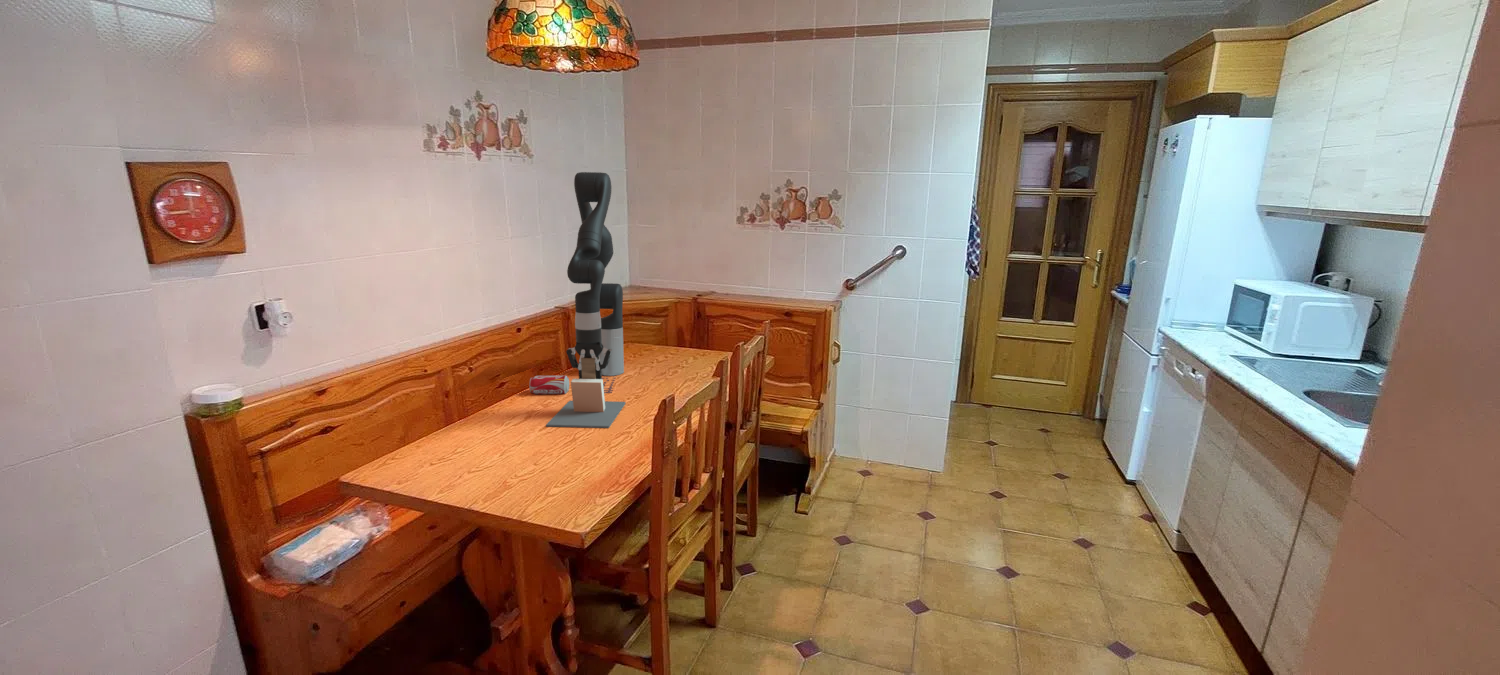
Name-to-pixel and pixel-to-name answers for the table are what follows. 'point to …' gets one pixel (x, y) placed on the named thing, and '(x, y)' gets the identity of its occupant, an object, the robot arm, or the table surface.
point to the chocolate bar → (608, 388)
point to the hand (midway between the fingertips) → (590, 381)
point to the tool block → (588, 368)
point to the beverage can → (549, 385)
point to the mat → (586, 416)
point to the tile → (588, 395)
